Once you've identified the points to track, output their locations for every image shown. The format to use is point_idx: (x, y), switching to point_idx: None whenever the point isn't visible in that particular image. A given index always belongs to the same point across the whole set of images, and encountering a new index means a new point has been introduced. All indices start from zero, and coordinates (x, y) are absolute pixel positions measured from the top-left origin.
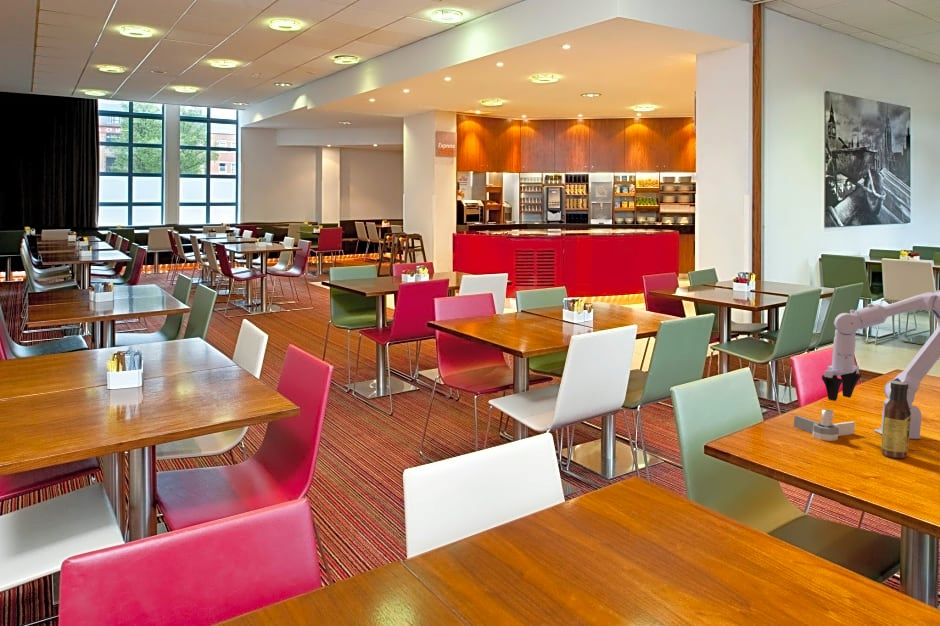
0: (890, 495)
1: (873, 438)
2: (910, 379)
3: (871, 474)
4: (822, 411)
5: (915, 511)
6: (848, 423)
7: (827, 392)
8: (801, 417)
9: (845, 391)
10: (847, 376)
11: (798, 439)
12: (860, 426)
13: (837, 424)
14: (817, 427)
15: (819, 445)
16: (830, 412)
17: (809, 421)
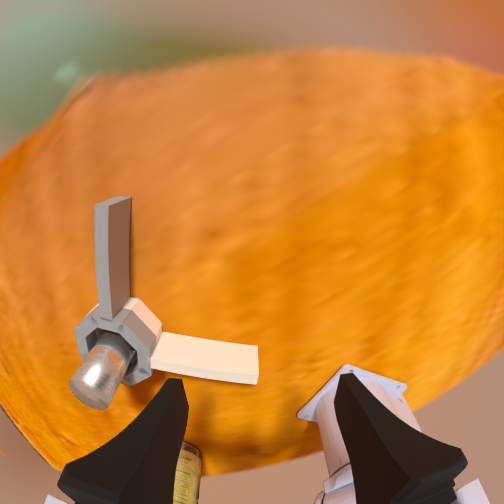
0: (54, 452)
1: (263, 396)
2: None
3: (70, 438)
4: (71, 380)
5: (56, 464)
6: (220, 379)
7: (146, 407)
8: (99, 241)
9: (348, 407)
10: (379, 499)
11: (46, 295)
12: (367, 316)
13: (161, 369)
14: (78, 341)
15: (67, 350)
16: (88, 404)
17: (98, 287)
